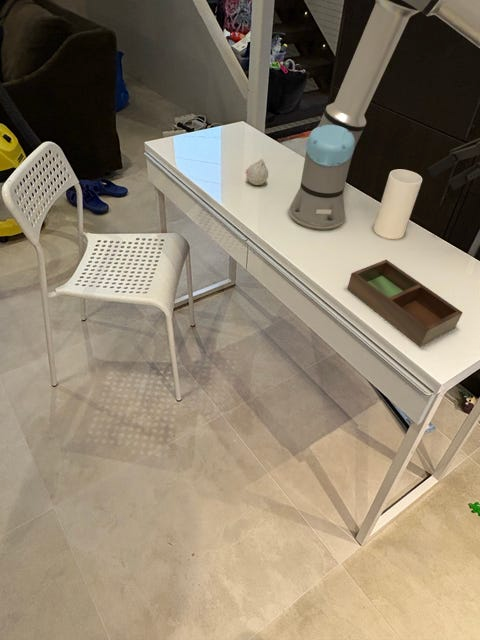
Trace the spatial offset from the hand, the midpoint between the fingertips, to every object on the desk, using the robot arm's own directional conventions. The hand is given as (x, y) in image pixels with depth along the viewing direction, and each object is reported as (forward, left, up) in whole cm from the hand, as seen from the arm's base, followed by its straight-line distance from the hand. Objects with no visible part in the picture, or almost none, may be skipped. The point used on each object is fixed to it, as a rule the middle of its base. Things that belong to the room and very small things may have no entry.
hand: (440, 178), depth 123 cm
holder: (+35, -1, -16) cm, 39 cm away
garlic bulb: (-6, -50, -17) cm, 53 cm away
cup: (+2, -8, -17) cm, 19 cm away
